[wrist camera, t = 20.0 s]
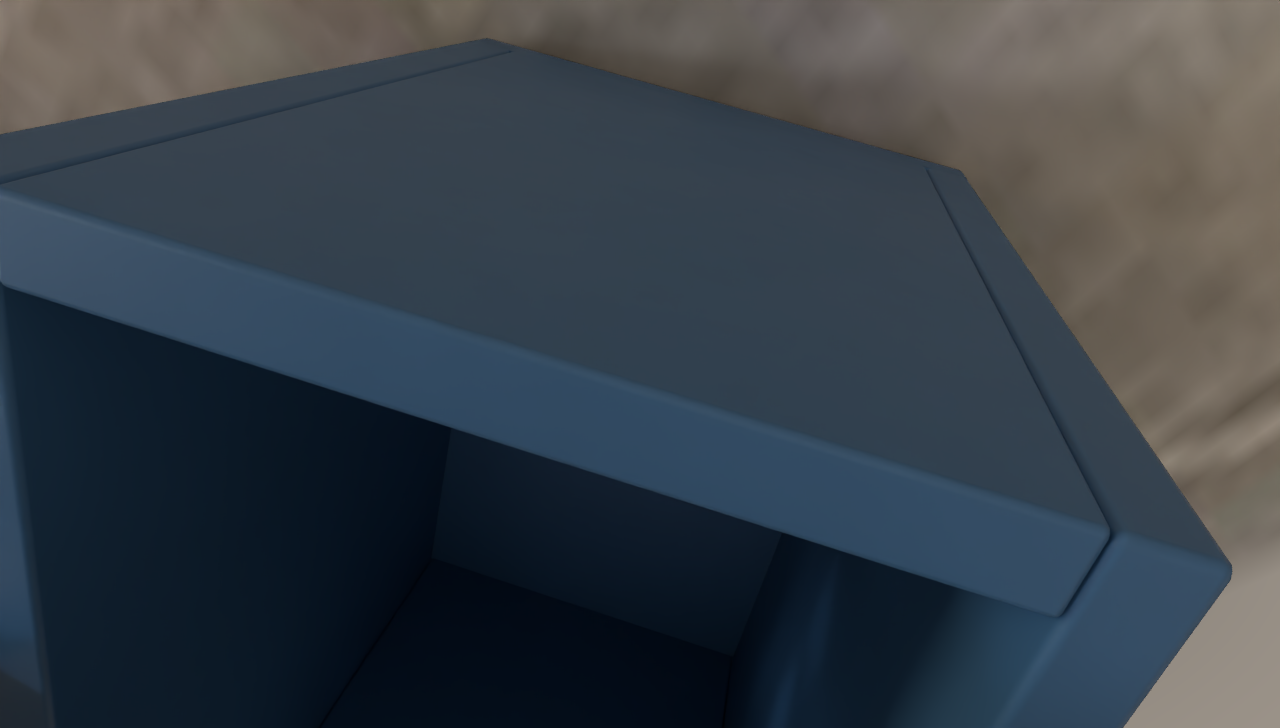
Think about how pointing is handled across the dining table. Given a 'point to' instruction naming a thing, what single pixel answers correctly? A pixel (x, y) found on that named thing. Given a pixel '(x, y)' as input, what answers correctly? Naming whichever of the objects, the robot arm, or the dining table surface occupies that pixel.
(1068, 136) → the dining table surface
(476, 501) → the blue bin
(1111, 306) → the dining table surface
